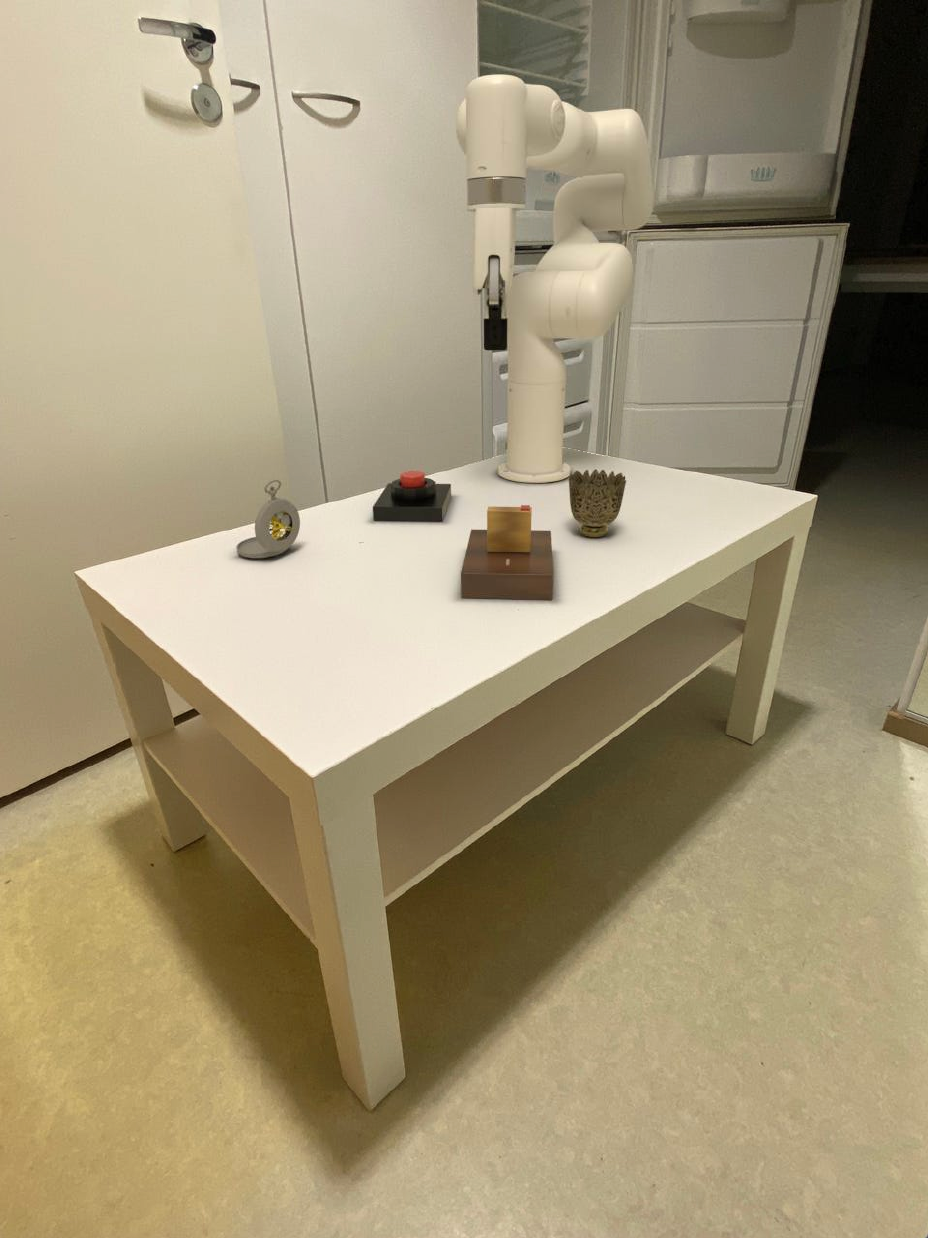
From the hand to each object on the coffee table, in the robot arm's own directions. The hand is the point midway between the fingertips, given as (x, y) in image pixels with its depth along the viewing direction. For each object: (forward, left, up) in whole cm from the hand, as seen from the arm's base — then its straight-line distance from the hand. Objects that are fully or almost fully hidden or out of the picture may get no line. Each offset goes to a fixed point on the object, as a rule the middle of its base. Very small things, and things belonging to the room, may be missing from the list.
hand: (495, 349), depth 98 cm
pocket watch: (+23, -28, -22) cm, 43 cm away
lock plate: (+28, +3, -22) cm, 36 cm away
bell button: (+4, -12, -19) cm, 22 cm away
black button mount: (+4, -12, -22) cm, 25 cm away
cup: (+14, +14, -22) cm, 30 cm away
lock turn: (+28, +3, -19) cm, 34 cm away
